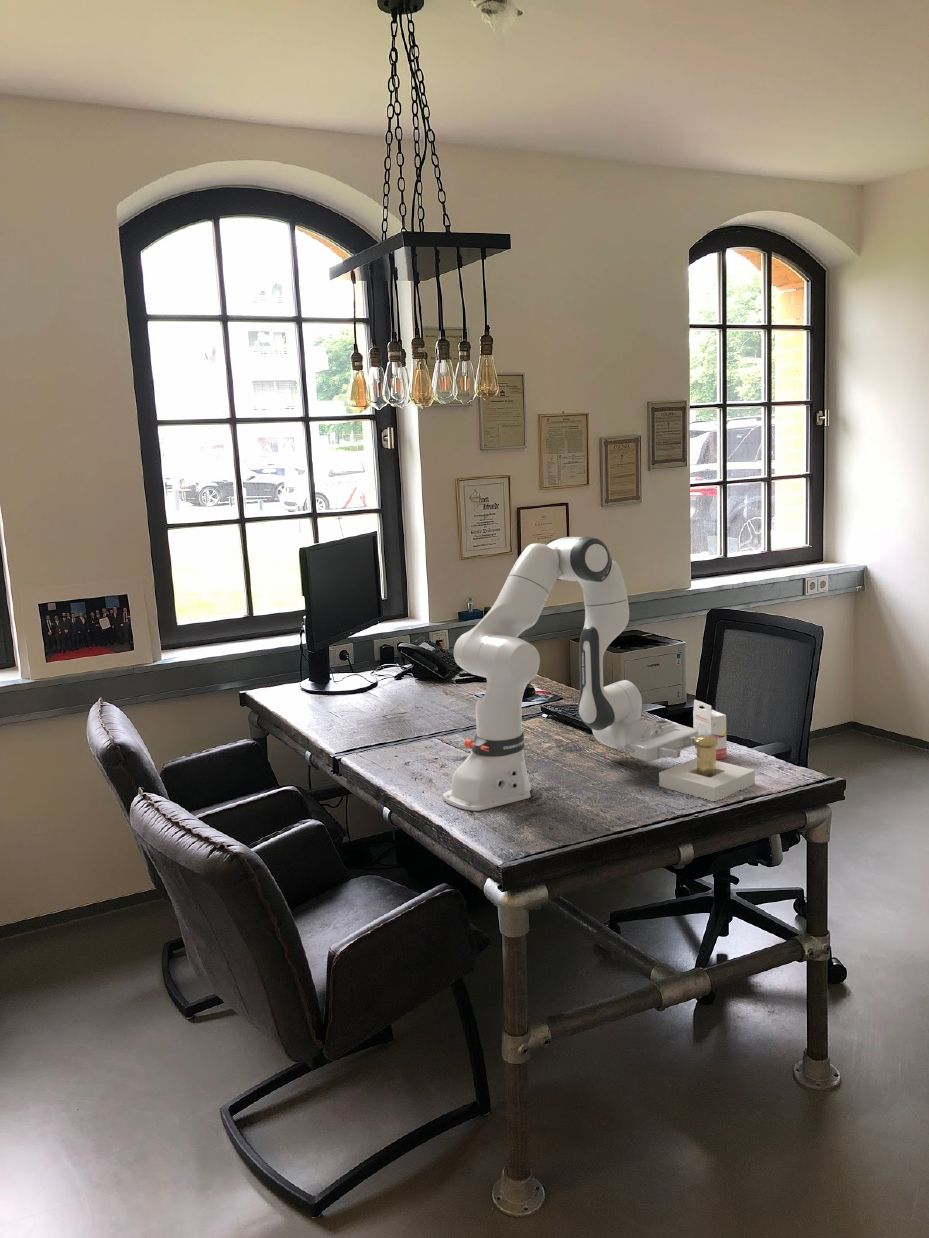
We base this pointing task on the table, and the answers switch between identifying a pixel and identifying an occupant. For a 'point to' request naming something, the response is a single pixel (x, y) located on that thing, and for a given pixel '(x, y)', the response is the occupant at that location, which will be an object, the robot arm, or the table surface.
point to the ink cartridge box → (710, 726)
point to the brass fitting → (706, 755)
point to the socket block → (707, 780)
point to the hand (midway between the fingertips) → (690, 749)
